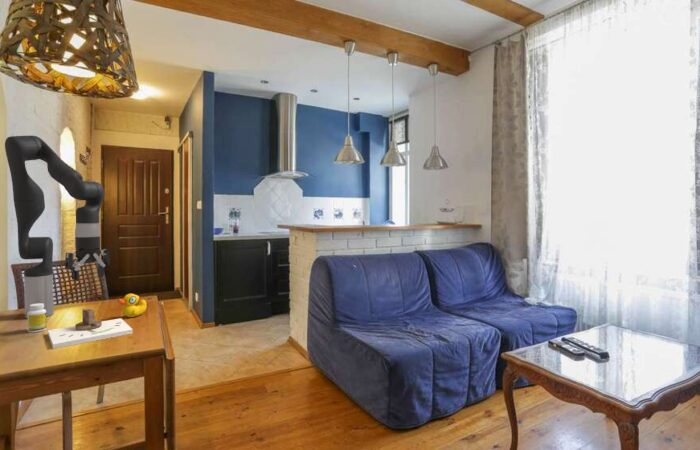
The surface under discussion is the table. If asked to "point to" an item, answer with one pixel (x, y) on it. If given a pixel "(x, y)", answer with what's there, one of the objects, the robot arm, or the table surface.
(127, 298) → the duckling
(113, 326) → the dial board
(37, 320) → the supplement bottle
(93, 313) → the knob
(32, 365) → the table surface
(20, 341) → the table surface
